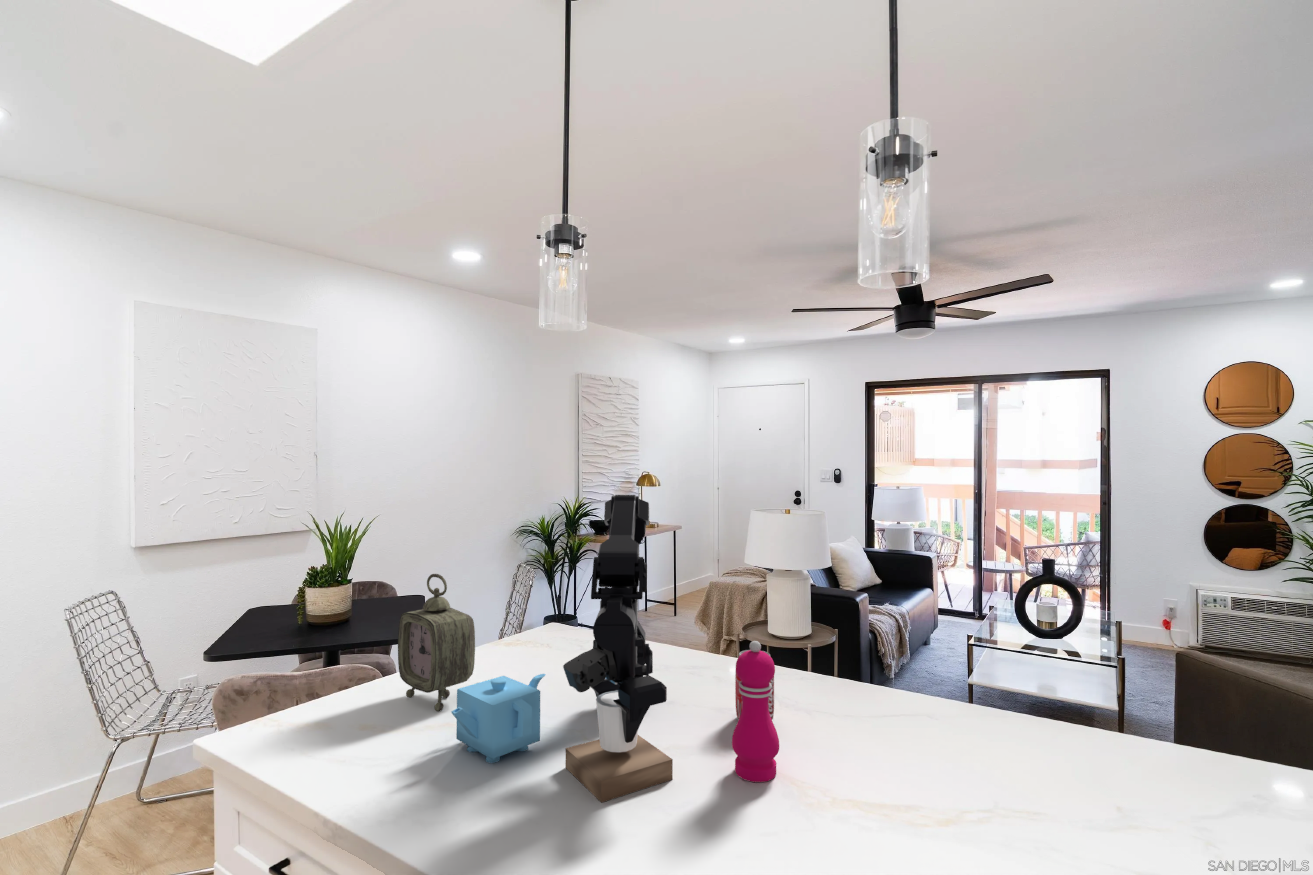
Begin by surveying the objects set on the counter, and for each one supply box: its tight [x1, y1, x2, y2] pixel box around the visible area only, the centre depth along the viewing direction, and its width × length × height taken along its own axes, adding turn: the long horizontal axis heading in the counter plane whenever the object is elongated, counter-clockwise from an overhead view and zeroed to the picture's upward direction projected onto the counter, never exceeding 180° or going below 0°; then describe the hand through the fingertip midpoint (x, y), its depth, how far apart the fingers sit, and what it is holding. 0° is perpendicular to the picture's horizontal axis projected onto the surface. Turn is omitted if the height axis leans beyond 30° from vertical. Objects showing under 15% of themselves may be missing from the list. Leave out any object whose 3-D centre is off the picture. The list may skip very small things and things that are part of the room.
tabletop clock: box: [397, 573, 476, 712], centre depth 128 cm, size 14×9×25 cm, turn 49°
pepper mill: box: [731, 640, 780, 783], centre depth 99 cm, size 7×7×20 cm
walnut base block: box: [565, 734, 674, 803], centre depth 98 cm, size 12×12×3 cm
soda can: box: [734, 649, 775, 720], centre depth 118 cm, size 7×7×12 cm
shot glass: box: [595, 691, 639, 752], centre depth 98 cm, size 7×7×7 cm
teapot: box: [450, 673, 546, 764], centre depth 107 cm, size 16×18×11 cm
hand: (618, 733), depth 98 cm, fingers closed on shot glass, 6 cm apart
